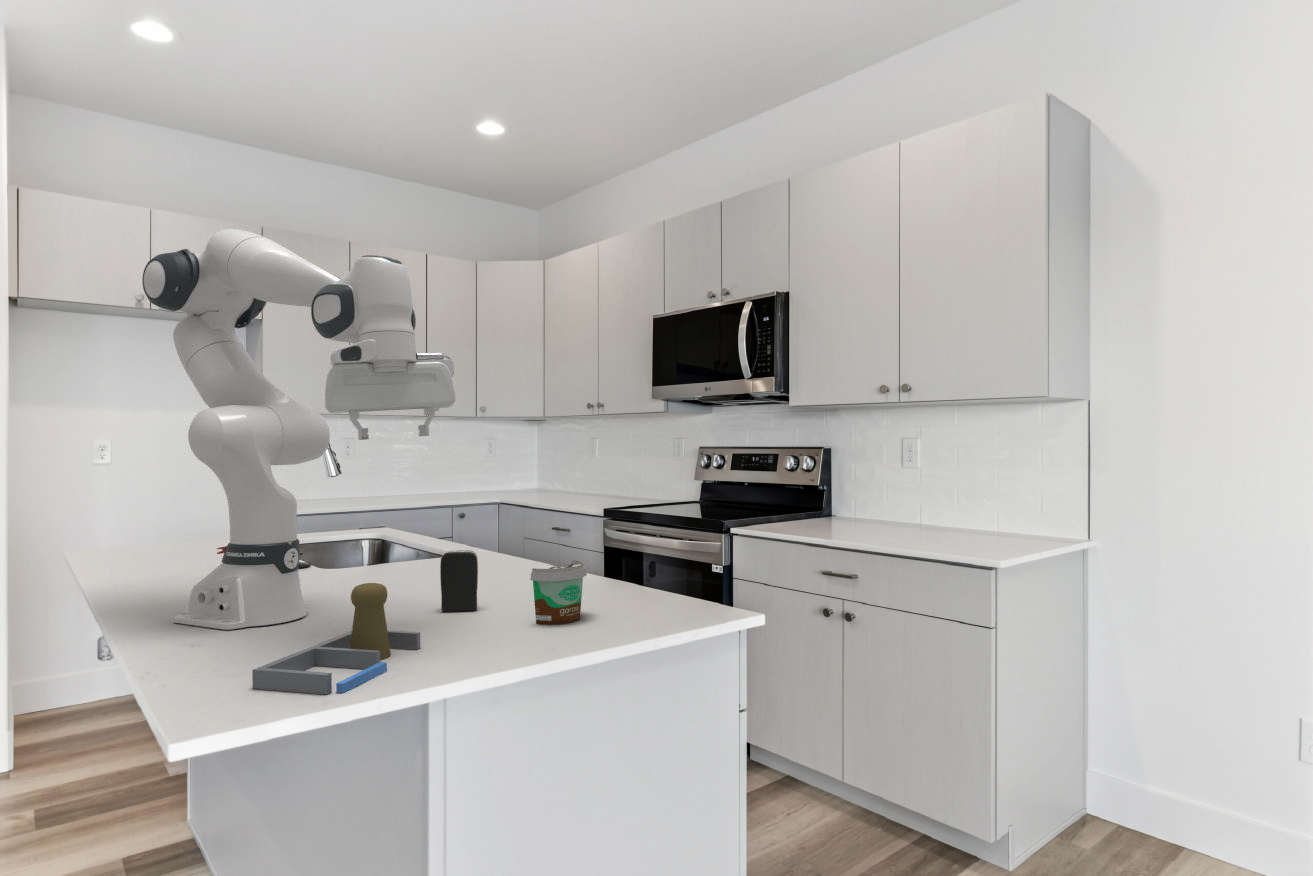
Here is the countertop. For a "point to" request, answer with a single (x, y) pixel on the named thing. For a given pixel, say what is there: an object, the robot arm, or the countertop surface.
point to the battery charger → (459, 581)
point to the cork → (370, 619)
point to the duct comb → (328, 665)
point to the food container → (558, 593)
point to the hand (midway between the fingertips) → (394, 437)
